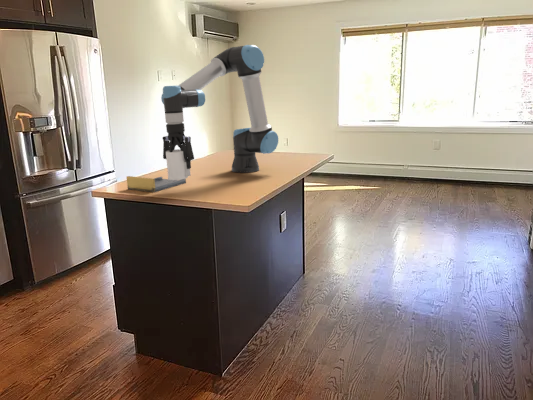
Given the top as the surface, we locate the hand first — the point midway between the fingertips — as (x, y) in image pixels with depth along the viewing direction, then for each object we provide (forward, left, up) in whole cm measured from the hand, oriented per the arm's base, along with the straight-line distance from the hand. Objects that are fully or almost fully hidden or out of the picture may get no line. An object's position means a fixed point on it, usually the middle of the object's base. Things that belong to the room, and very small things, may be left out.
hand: (180, 175), depth 189 cm
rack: (+18, -4, -7) cm, 20 cm away
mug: (0, 0, -1) cm, 1 cm away
